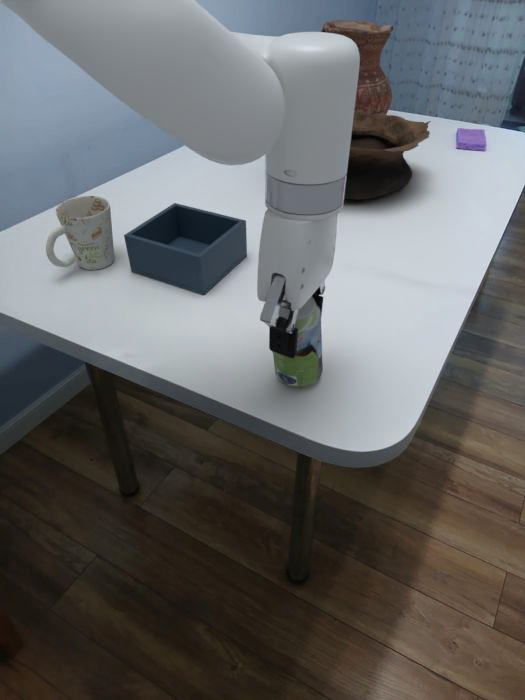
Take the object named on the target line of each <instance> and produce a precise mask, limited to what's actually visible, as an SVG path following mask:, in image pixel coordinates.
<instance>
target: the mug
mask: <svg viewBox="0 0 525 700" xmlns="http://www.w3.org/2000/svg"><path fill="white" fill-rule="evenodd" d="M55 214H56V217H57V220H58V222H59V224H60V226H59V227H56V229H54V230H53V231H51V232H50V233H49V235H48V237H47V240H46V244H45V254H46V256H47V260H48V261H49V262H50V264H52V265H53V266H56V267H59V268H68V267H70V266H71V265H73V264H75V263H76V262H77V264H78V265H79V266H80V268H82V269H83V270H88V271H97V270H98V271H99V270H102V269H105V268H107V267H110V266H111V265H112V264H113V263H114V261H115V247H114V236H113V235H114V234H113V225H112V224H113V223H112V212H111V205H110V202H109V200H108V199H106V198H104V197H101V196H98V195H97V196H96V195H82V196H76V197H72V198H68V199H66V200H64V201H62V202H61V203H59V204H58V205H57V206H56V208H55ZM63 235H65V238H66V239H67V242H68V244H69V246H70V249H71V250H72V253H73V255H74V256H73V257H71V258H69V259H68V260H66V261H63V260H61V259H59V258H58V257H57V256H56V254H55V243H56V241H57V239H58V238H60V237H61V236H63Z"/></svg>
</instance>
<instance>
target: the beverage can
mask: <svg viewBox="0 0 525 700" xmlns="http://www.w3.org/2000/svg"><path fill="white" fill-rule="evenodd" d="M283 299H285V300H288V299H287V297H286V295H284V298H283ZM289 312H290V310H289V309H286V308H283V307H280V309H279V315H280V316H281V317H284V318H285V319H287V320H288V317H289ZM268 328H270V326H268ZM295 328H297V329H298V338H297V353H296V356H295V357H294V358H289V357H287V356H284V355H281V354H278V353H275V352H273V351H272V357H273V365H274V366H273V367H274V372H275V376H276V377H277V379H278V380H279V382H281V383H282V384H284V385H286V386H289V387H292V388H304V387H307V386H310V385H312V384H314V383H316V382H317V381H318V380H319V379H320V378H321V376H322V374H323V371H324V367H323V365H324V364H323V337H322V316H321V312H320V308H319V306H318V305H317V303H316V302H315V300H314V299H313V297H312V296H311V297H310V299H309V300H308V301H307V302H306V303H305V304H304V305H303V306H302V307H301V308H300V309H299V310H298V315H297V319H296V324H295Z"/></svg>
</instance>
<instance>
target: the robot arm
mask: <svg viewBox="0 0 525 700" xmlns="http://www.w3.org/2000/svg"><path fill="white" fill-rule="evenodd" d="M0 4H2V5H3V6H5V7H6V8H7V9H8V10H10V11H11V12H13V13H14V14H15V15H17V16H18V17H19V18H20V19H22V21H24V22H25V23H26V24H27V25H28V26H29V27H30V28H31V29H32V30H33V31H34V32H35V33H36V34H37V35H39V36H40V37H41V38H42V39H43V40H44V41H45V42H47V43H49V45H51V46H52V47H53V48H55V49H56V50H57V51H59V52H60V53H62V55H64V56H65V57H66V58H68V59H69V60H70V61H71V62H73V63H74V64H75V65H77V66H78V67H79V68H80V69H81V70H82V71H83V72H84V73H85V74H86V75H88V76H89V77H90V78H92V79H93V80H94V82H97V83H98V84H99V85H100V86H101V87H102V88H103V89H105V90H106V91H108V92H109V93H110V94H111V95H112V96H114V97H115V98H116V99H118V100H119V101H120V102H122V103H123V104H124V105H126V106H127V107H128V108H130V109H131V110H132V111H134V112H135V113H137V114H138V115H139V116H141V117H142V118H144V119H145V120H146V121H148V122H150V123H151V124H153V125H154V126H156V127H157V128H159V130H161V131H163V132H164V133H166V134H167V135H169V136H170V137H172V139H174V140H176V141H178V142H179V143H180V144H182V145H183V146H185V147H187V148H188V149H190V150H191V151H192V152H194V153H195V154H197V155H199V156H200V157H202V158H204V159H207V160H208V161H210V162H214V163H217V164H220V165H225V166H243V165H247V164H250V163H253V162H255V161H257V160H259V159H261V158H262V157H263V156H265V158H264V159H265V161H264V162H265V165H264V167H265V168H264V169H265V171H264V174H265V175H264V205H265V207H266V210H265V213H264V215H263V220H262V226H261V233H260V238H259V239H260V240H259V246H258V247H259V250H258V261H257V262H258V263H257V277H256V278H257V282H256V295H257V299H258V301H260V302H264V305H263V307H262V310H261V313H260V315H259V321H260V322H262V323H264V324H266V325H267V327H268V328H269V326H270V328H269V333H268V334H269V335H268V340H269V341H268V349H269V351H271V352H272V353H273V352H275V353H278V354H281V355H284V356H287V357H289V358H294V357H295V356H296V353H297V338H298V329H297V328H295V324H296V319H297V315H298V310H299V309H300V308H301V307H302V306H303V305H304V304H305V303H306V302H307V301H308V300H309V299H310V297H311V296H312V297H313V299H314V300H315V302H316V303H317V305H318V306H319V308H320V312H321V317H322V315H323V314H322V313H323V306H324V305H323V304H324V296H323V295H324V293H325V292H326V291H325V290H326V279H327V278H328V277H329V275H330V273H331V271H332V269H333V265H334V261H335V260H334V259H335V252H336V245H337V244H336V243H337V233H338V232H337V229H338V214H339V213H340V212H341V211H342V210H343V208H344V202H345V199H344V194H345V186H346V177H347V167H348V159H349V151H350V142H351V134H352V126H353V117H354V109H355V100H356V92H357V83H358V75H359V64H360V55H359V50H358V47H357V45H356V44H355V43H354V41H353V40H352V39H350V38H348V37H346V36H343V35H339V34H333V33H326V32H321V31H299V32H292V33H291V32H290V33H286V34H283V35H280V36H273V35H262V34H251V33H243V32H237V31H230V30H229V29H228V28H227V27H226V26H225V25H223V24H222V23H221V22H220V21H219V20H218V19H216V18H215V17H214V16H213V15H212V14H211V13H210V12H209V11H208V10H206V8H204V7H203V6H202V5H201V4H199V2H197V1H196V0H0ZM284 295H286V297H287V299H288V300H285V299H283V298H284ZM280 307H283V308H286V309H289V310H290V312H289V317H288V320H287V319H285V318H284V317H281V316H280V315H279V309H280Z"/></svg>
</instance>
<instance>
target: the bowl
mask: <svg viewBox="0 0 525 700" xmlns="http://www.w3.org/2000/svg"><path fill="white" fill-rule="evenodd" d="M431 122H432V121H431V120H429V121H427V122H423V121H415V120H409V119H405V118H404V117H402V116H400V115H399V116H398V115H393V114H384V113H381V114H378V115H375V116H369V115H368V114H367V113H365V112H364V111H363V110H354V117H353V126H352V134H351V142H350V151H349V159H348V167H347V177H346V186H345V194H344V200H346V199H347V200H349V199H350V200H369V199H373V198H377V197H380V196H384V195H386V194H387V195H388V194H390V193H392V192H396V191H399V189H403V188H405V187H406V186H408V184H410V182H411V180H412V179H413V178H412V177H413V170H412V168H411V166H410V165H409V164H408V162H407V160H406V159H405V158H404V153H405V152H408V151H411V150H413V149H415V148H417V147H419V146H420V145H419V143H422V142H423V141H425V140H427V139H429V138H430V134H431V132H430V131H429V130H428V129H429V124H430V123H431Z"/></svg>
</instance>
